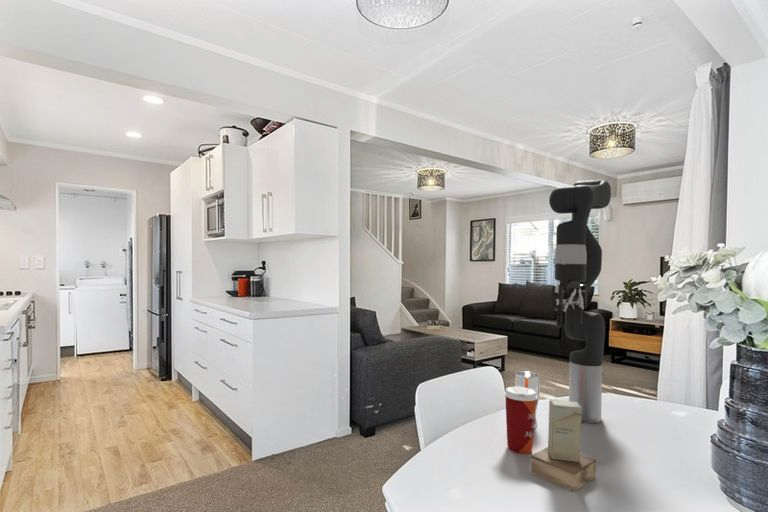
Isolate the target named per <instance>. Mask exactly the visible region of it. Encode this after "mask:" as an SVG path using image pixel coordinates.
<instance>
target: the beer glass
mask: <svg viewBox="0 0 768 512" xmlns="http://www.w3.org/2000/svg"><path fill="white" fill-rule="evenodd" d="M514 381H515V382H514V387H525V388H529V389H532V390H534V391H535V392H536V396H537V397H538V398H537V399H536V407H535V420H534V429H536V428H538V420H537V409H538V405H539V399H540V392H541V390H540V388H541V387H540V375H539V374H538V373H536V372H534V371H533V372H532V371H522V370H521V371H517V372H515V380H514Z"/></svg>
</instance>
